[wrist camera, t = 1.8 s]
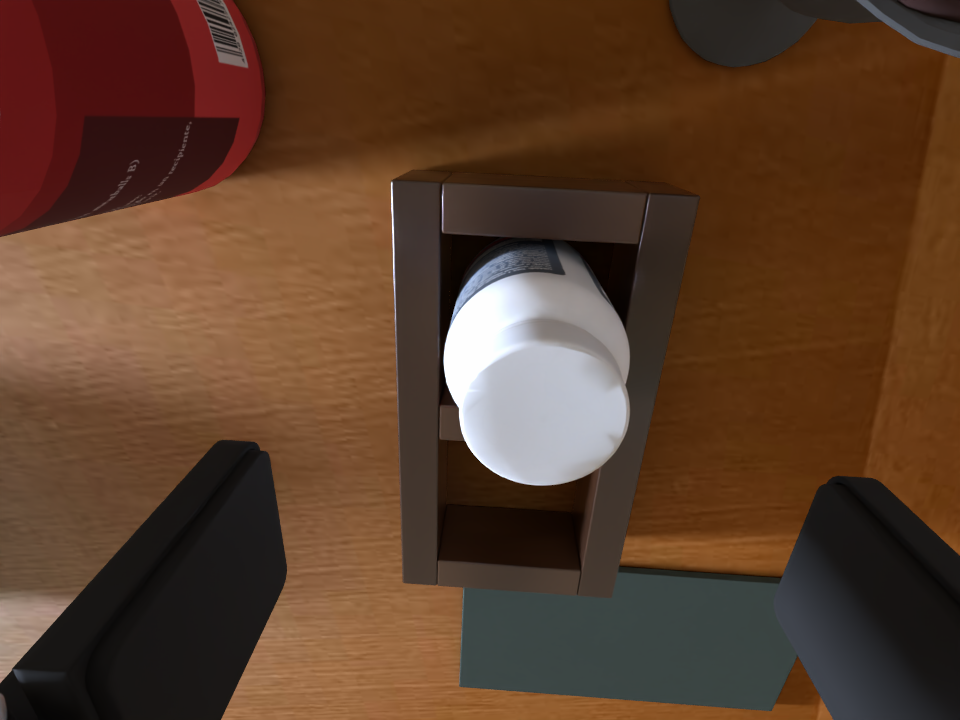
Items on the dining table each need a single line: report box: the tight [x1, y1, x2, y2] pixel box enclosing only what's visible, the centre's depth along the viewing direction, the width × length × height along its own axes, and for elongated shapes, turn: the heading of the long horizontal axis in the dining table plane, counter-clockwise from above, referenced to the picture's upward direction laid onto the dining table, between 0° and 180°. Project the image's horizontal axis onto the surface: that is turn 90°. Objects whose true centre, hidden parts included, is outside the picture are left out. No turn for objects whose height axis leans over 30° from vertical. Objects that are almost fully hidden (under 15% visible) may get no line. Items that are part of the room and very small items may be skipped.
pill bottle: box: [444, 237, 630, 485], centre depth 16 cm, size 5×5×9 cm
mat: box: [459, 567, 798, 711], centre depth 27 cm, size 18×10×1 cm, turn 88°
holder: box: [391, 170, 700, 598], centre depth 20 cm, size 9×16×4 cm, turn 178°
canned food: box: [0, 0, 266, 237], centre depth 12 cm, size 8×8×11 cm
